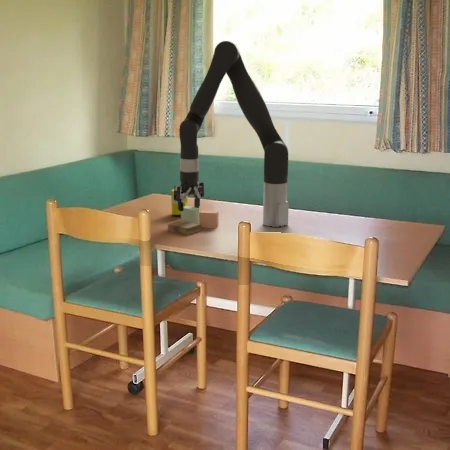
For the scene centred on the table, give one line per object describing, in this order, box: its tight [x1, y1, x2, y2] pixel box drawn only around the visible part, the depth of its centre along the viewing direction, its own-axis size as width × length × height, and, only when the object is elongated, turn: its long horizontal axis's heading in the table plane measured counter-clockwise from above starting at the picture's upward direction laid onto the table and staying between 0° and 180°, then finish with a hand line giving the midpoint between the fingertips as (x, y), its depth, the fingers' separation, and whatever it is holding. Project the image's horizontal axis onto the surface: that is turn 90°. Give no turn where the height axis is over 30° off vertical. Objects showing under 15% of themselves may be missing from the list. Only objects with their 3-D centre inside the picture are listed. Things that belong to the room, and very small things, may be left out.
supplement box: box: [170, 188, 189, 217], centre depth 267 cm, size 6×6×11 cm
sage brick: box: [180, 205, 200, 223], centre depth 257 cm, size 7×4×6 cm, turn 45°
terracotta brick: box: [199, 209, 219, 229], centre depth 250 cm, size 7×4×6 cm, turn 80°
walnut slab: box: [167, 219, 202, 236], centre depth 245 cm, size 10×8×3 cm
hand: (189, 209), depth 256 cm, fingers open, 8 cm apart
